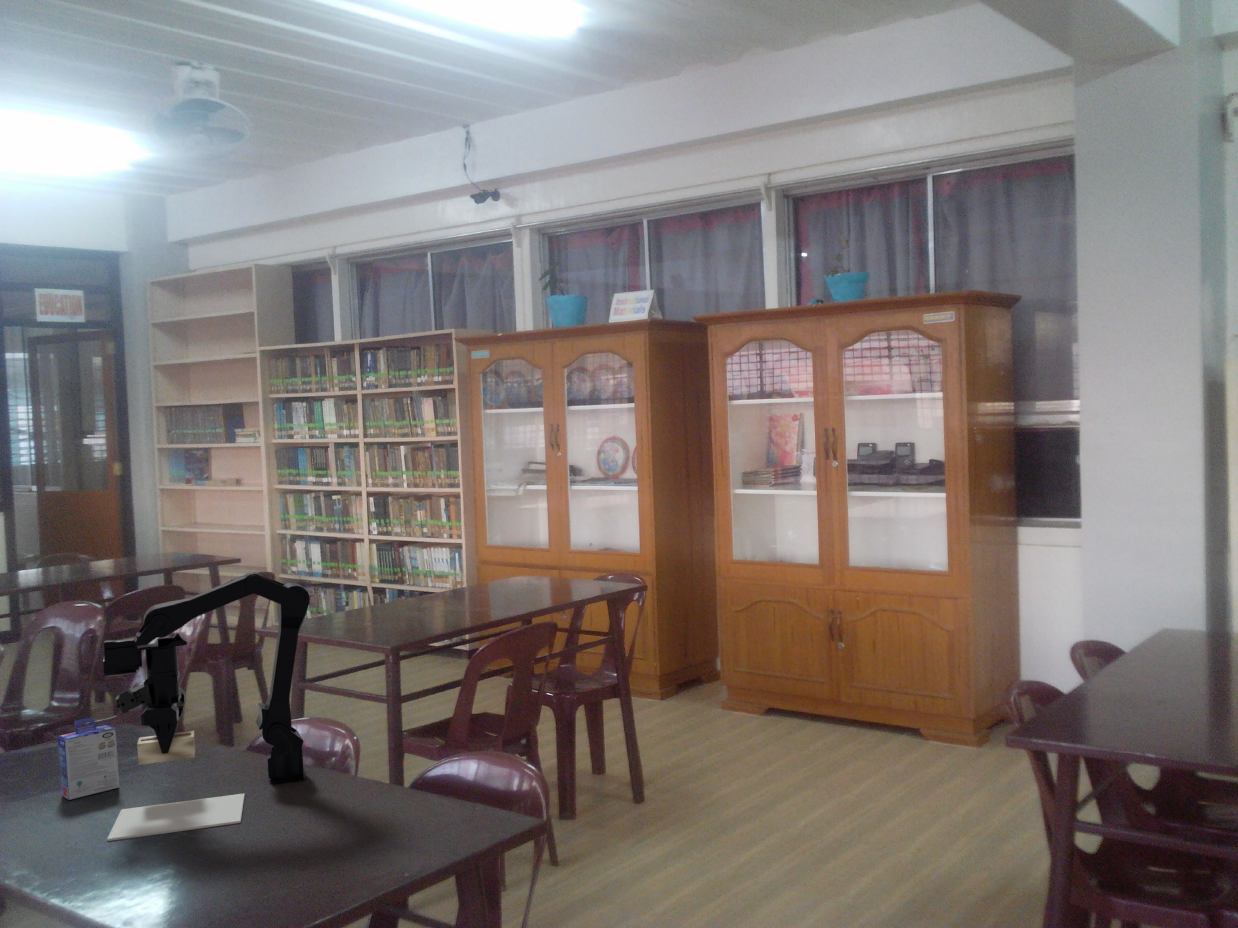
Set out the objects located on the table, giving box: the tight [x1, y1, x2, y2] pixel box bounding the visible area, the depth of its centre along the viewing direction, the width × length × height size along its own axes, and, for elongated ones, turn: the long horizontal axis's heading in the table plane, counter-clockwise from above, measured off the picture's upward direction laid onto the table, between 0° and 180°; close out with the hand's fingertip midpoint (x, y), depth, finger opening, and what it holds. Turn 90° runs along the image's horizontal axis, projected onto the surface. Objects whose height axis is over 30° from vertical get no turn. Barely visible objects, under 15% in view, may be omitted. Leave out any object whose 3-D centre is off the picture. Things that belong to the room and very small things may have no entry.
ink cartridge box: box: [57, 717, 120, 801], centre depth 217 cm, size 10×6×14 cm, turn 135°
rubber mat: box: [106, 793, 246, 842], centre depth 199 cm, size 22×16×1 cm
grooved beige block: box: [136, 730, 196, 766], centre depth 210 cm, size 10×5×4 cm, turn 110°
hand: (166, 749), depth 210 cm, fingers closed on grooved beige block, 5 cm apart
